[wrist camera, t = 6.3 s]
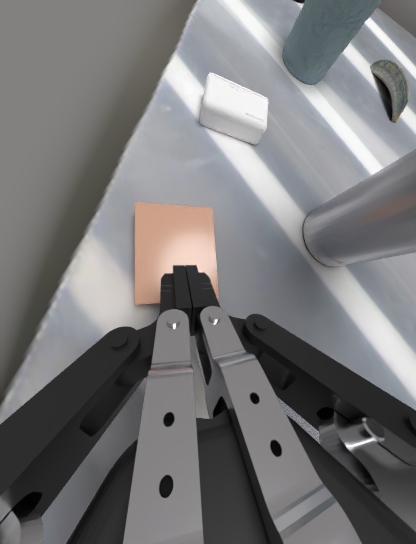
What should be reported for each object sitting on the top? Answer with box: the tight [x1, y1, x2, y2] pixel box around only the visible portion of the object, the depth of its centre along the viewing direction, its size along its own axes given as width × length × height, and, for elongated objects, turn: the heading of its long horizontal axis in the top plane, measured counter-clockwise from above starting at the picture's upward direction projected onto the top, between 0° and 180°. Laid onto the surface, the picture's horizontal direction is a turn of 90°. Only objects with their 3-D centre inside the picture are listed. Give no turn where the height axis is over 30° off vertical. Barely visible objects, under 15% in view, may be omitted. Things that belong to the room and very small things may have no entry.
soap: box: [200, 73, 269, 145], centre depth 22 cm, size 9×6×3 cm, turn 82°
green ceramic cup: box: [283, 0, 382, 84], centre depth 23 cm, size 10×10×12 cm
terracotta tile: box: [135, 202, 219, 305], centre depth 17 cm, size 2×8×10 cm
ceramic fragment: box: [370, 60, 409, 123], centre depth 33 cm, size 14×5×4 cm, turn 11°
